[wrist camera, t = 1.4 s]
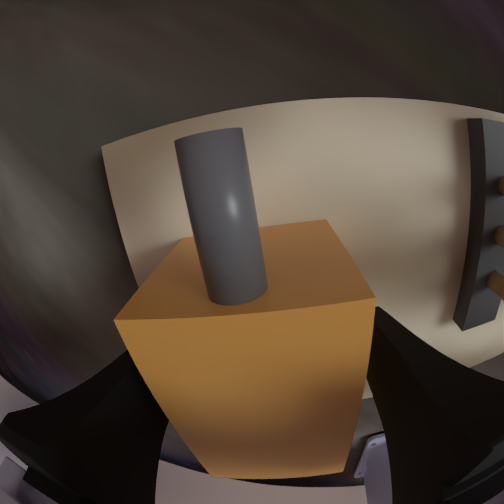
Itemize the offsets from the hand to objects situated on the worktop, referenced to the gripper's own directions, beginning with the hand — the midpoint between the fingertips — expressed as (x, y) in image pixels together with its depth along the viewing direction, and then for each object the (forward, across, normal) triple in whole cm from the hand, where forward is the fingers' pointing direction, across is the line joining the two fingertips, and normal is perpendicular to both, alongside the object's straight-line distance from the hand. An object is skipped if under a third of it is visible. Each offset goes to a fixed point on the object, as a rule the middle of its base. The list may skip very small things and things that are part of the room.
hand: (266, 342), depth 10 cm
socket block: (+1, 0, -1) cm, 2 cm away
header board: (+2, -6, -1) cm, 7 cm away
